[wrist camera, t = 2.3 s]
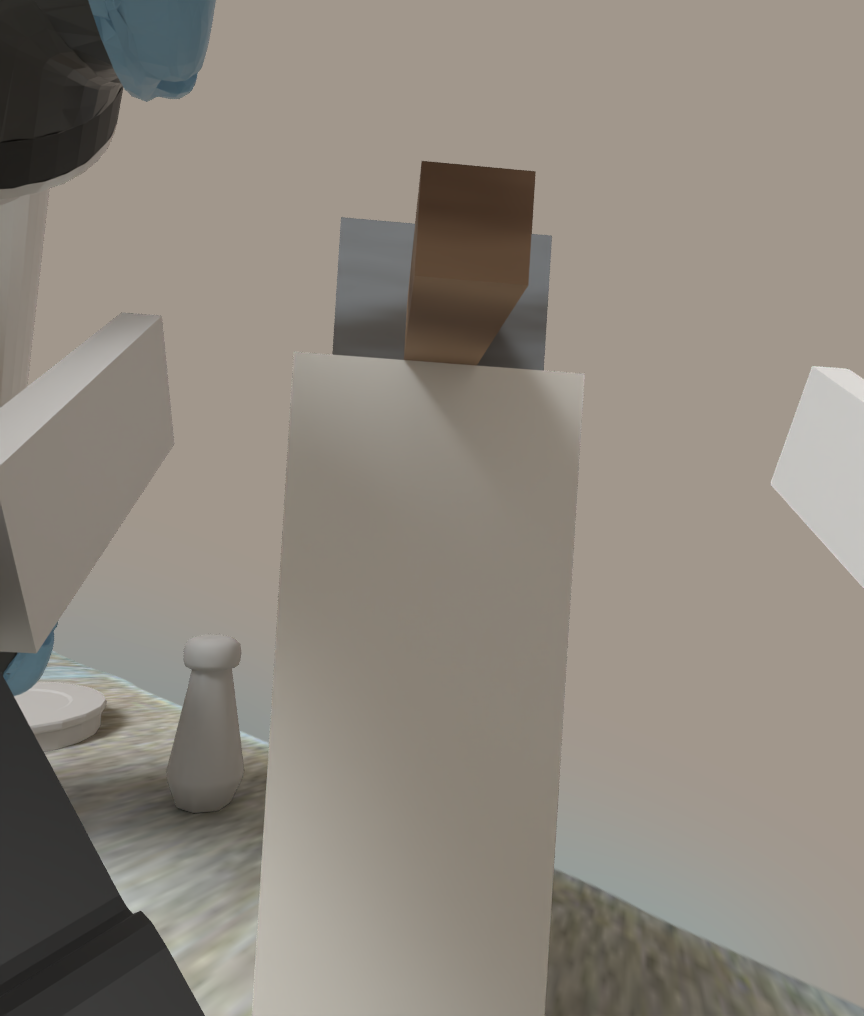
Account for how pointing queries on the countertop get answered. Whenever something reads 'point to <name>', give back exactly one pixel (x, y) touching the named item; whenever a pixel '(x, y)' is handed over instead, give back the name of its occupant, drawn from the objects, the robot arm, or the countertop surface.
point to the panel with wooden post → (448, 275)
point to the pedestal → (417, 689)
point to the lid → (61, 713)
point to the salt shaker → (207, 728)
